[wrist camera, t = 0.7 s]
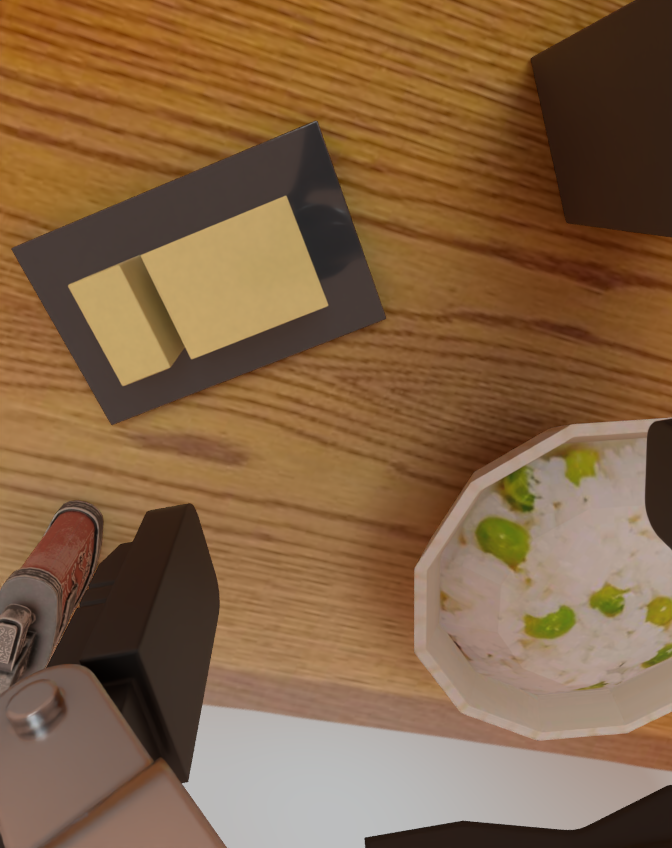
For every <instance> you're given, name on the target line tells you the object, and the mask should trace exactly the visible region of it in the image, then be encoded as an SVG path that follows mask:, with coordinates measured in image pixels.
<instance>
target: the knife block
mask: <svg viewBox="0 0 672 848" xmlns="http://www.w3.org/2000/svg"><path fill="white" fill-rule="evenodd" d="M531 63H532V67H533V72H534V76H535V81H536V85H537V90H538V95H539V99H540V104H541V108H542V113H543V118H544V122H545V127H546V131H547V136H548V140H549V145H550V150H551V154H552V159H553V163H554V168H555V173H556V177H557V182H558V186H559V191H560V196H561V200H562V205H563V209H564V214H565V218H566V222H567V223H570V224H577V225H585V226H592V227H599V228H607V229H614V230H622V231H629V232H637V233H644V234H651V235H659V236H666V237H672V0H635V1H633V2H631V3H629V4H627V5H626V6H624V7H622V8H620V9H618V10H617V11H615V12H613V13H611V14H609V15H607V16H606V17H604V18H602V19H600V20H598V21H597V22H595V23H593V24H591V25H589V26H588V27H586V28H584V29H582V30H580V31H579V32H577V33H575V34H573V35H571V36H570V37H568V38H566V39H564V40H562V41H561V42H559V43H557V44H555V45H553V46H551V47H550V48H548V49H546V50H544V51H542V52H541V53H539V54H537V55H535V56H533V57H532V58H531Z"/></svg>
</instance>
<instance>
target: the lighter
mask: <svg viewBox="0 0 672 848" xmlns="http://www.w3.org/2000/svg"><path fill="white" fill-rule="evenodd" d="M102 533H103V517H102V514H101V513H100V511H99V510H98V509H97V508H96V507H95V506H93V505H91V504H89V503H87V502H83V501H78V500H77V501H69V502H67V503H65V504H63V505H62V506H61V508H60V509H59V510H58V511H57V513H56V514H55V516H54V517H53V519H52V521H51V523H50V525H49V526H48V528H47V530H46V532H45V534H44V536H43V538H42V539H41V541H40V542H39V544H38V545H37V546H36V548H35V549H34V550H33V552H32V553H31V555H30V556H29V557H28V559H27V560H26V562H25V563H24V564H23V566H22V567H21V568H20V569H18V570H16V571H14V572H13V573H12V574H11V575H10V576H9V578H8V579H7V581H6V582H5V583H4V585H3V586H2V588H1V590H0V695H1V694H2V693H3V692H4V691H5V690H7V689H8V688H9V687H11V686H12V685H13V684H15V683H17V682H18V681H20V680H21V679H23V678H25V677H27V676H29V675H31V674H33V673H35V672H37V671H40V670H42V669H45V667H46V665H47V663H48V661H49V659H50V656H51V654H52V651H53V649H54V646H55V645H57V644H58V642H59V640H60V638H61V636H62V634H63V632H64V630H65V628H66V626H67V624H68V621H69V619H70V616H71V614H72V612H73V611H74V610H75V608H76V606H77V604H78V603H79V601H80V599H81V598H82V596H83V594H84V593H85V591H86V589H87V587H88V585H89V583H90V581H91V578H92V576H93V573H94V571H95V568H96V566H97V563H98V558H99V554H100V549H101V544H102Z"/></svg>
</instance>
